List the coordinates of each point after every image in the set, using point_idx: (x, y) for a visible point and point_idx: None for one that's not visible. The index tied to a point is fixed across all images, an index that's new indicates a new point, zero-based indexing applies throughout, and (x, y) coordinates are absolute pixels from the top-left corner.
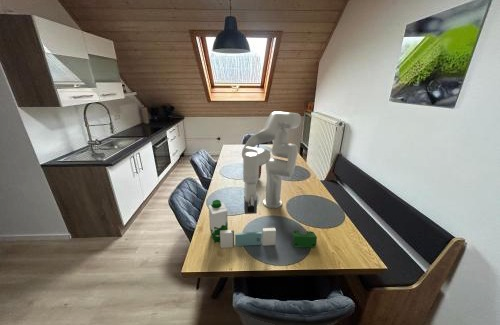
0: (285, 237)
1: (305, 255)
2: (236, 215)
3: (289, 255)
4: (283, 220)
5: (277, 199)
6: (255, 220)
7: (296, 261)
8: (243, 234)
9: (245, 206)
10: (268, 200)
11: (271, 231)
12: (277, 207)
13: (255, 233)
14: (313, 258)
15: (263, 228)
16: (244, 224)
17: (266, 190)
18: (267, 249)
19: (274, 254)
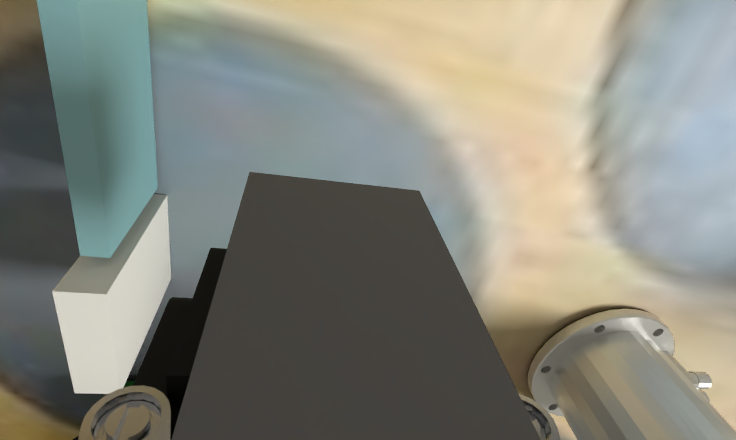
0: None
1: (42, 406)
2: (603, 48)
3: (31, 333)
4: None
5: (576, 433)
6: (456, 207)
7: None
8: (43, 35)
9: (216, 298)
10: (611, 372)
11: (72, 353)
12: (529, 380)
13: (74, 193)
14: (20, 431)
15: (103, 301)
16: (438, 100)
17: (712, 437)
18: None
19: (30, 250)
